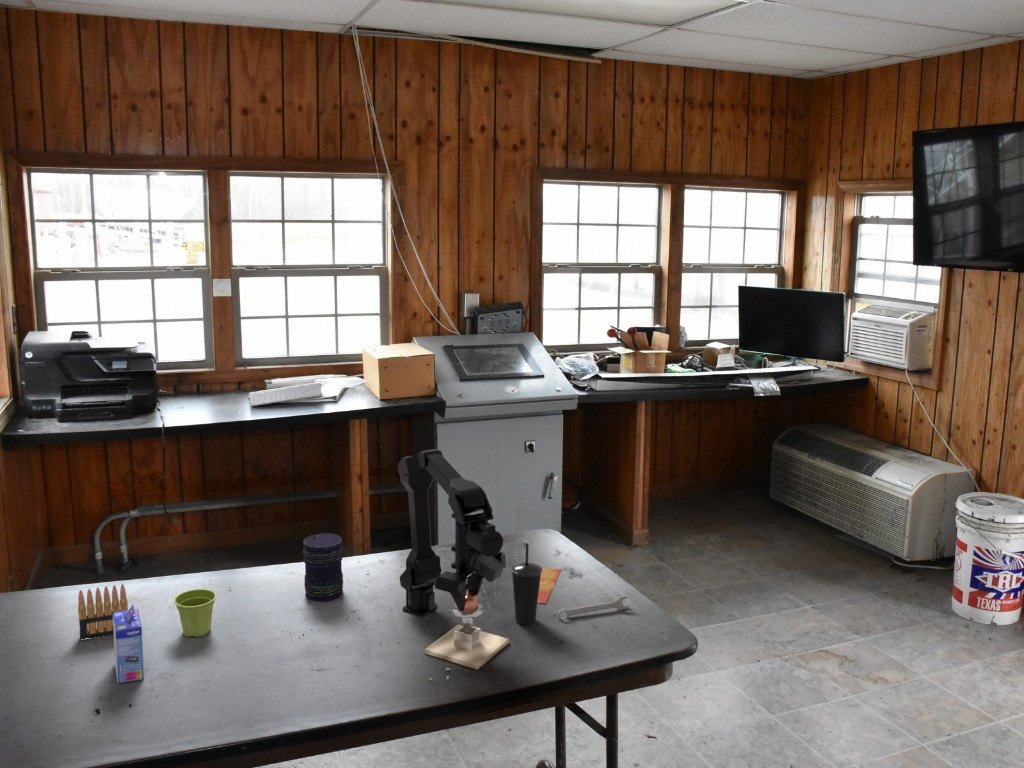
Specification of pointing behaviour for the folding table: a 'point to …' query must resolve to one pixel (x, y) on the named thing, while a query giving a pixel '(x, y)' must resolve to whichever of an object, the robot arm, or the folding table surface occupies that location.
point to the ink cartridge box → (128, 646)
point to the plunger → (468, 609)
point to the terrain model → (547, 583)
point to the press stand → (467, 646)
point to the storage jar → (323, 567)
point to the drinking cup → (526, 590)
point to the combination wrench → (595, 607)
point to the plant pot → (195, 611)
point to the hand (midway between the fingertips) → (467, 606)
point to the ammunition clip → (100, 612)
